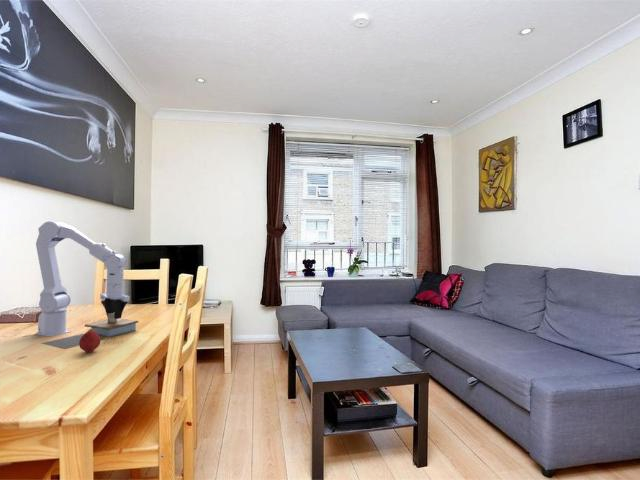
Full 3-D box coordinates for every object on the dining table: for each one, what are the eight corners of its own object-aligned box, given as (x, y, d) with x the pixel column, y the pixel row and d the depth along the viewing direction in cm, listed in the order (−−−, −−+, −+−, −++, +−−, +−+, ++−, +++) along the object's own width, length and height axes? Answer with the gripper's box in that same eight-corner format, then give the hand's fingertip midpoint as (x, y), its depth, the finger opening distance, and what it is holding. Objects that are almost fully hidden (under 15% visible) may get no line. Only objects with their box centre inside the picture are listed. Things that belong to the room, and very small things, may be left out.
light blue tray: (91, 334, 132) (91, 325, 132) (117, 328, 142) (117, 319, 142) (109, 337, 128) (109, 328, 128) (135, 331, 138) (135, 322, 138)
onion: (89, 356, 107) (89, 331, 107) (74, 355, 108) (75, 330, 108) (104, 350, 113) (105, 327, 113) (90, 349, 114) (90, 326, 114)
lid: (84, 326, 131) (84, 315, 131) (115, 319, 143) (115, 309, 143) (108, 330, 126) (109, 318, 126) (138, 322, 138) (138, 312, 138)
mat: (40, 344, 119) (40, 343, 119) (82, 334, 131) (82, 333, 131) (64, 350, 113) (64, 349, 113) (105, 339, 126) (105, 338, 126)
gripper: (93, 284, 134) (92, 317, 134) (118, 286, 129) (117, 321, 129) (109, 282, 141) (109, 314, 141) (134, 284, 135) (133, 318, 135)
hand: (114, 317), depth 135 cm, fingers open, 4 cm apart
